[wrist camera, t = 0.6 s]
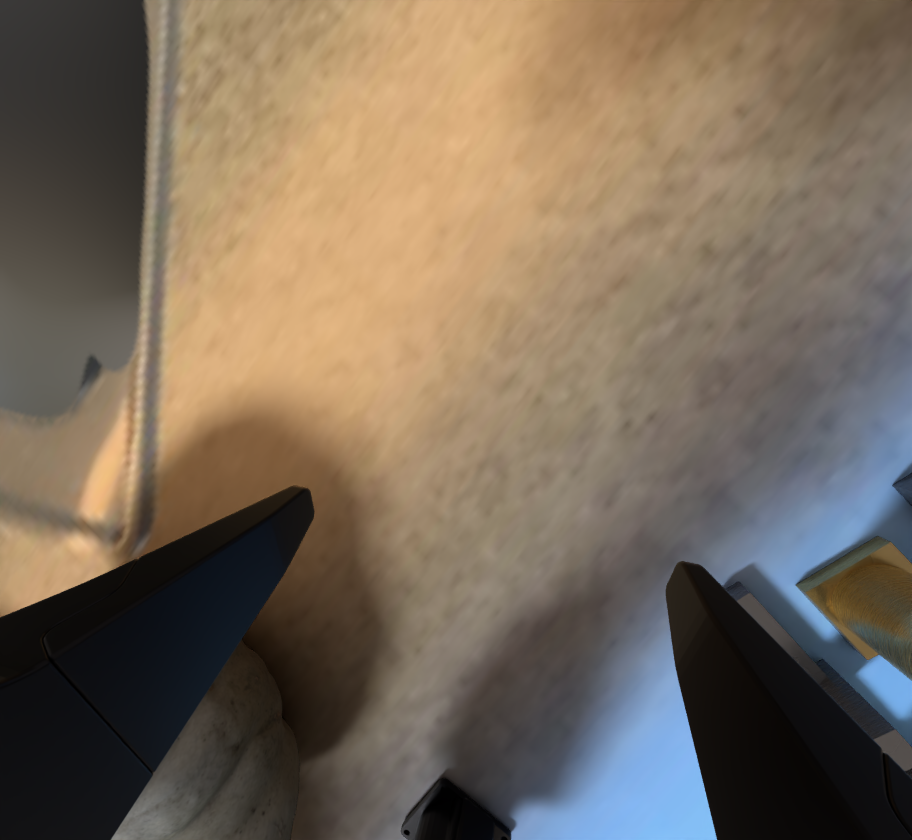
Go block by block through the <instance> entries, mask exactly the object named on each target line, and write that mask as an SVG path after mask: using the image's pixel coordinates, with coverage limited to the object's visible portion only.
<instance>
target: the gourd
mask: <svg viewBox="0 0 912 840" xmlns="http://www.w3.org/2000/svg"><path fill="white" fill-rule="evenodd" d="M299 772H300V760H299V753H298V748H297V743H296V739H295V736H294V734H293V732H292V730H291V728H290V727H289V725H288V724H287V723H286V722H285V720H284V719H283V718H282V701H281V696H280V692H279V689H278V687H277V684H276V681H275V679H274V678H273V676H272V675H271V674H270V673H269V672H268V669H267V667H266V664H265V662H264V661H263V660H262V659H261V658H260V657H259V655H258V654H257V653H255V652H254V651H252V650H251V649H249V648H248V647H247V646H246V645H245V644H244V642H243V640H242V639H241V641H240V643H239V644H238V646H237V647H236V649H235V650H234V652H233V653H232V655H231V656H230V658H229V659H228V661H227V662H226V664H225V665H224V667H223V669H222V670H221V672H220V673H219V675H218V676H217V678H216V679H215V681H214V682H213V684H212V685H211V687H210V688H209V690H208V691H207V693H206V695H205V696H204V698H203V699H202V701H201V702H200V704H199V705H198V707H197V708H196V710H195V711H194V713H193V714H192V716H191V717H190V719H189V721H188V722H187V724H186V725H185V727H184V728H183V730H182V731H181V733H180V734H179V736H178V737H177V739H176V740H175V742H174V743H173V745H172V747H171V748H170V750H169V751H168V753H167V754H166V756H165V757H164V759H163V760H162V762H161V763H160V765H159V766H158V768H157V769H156V771H155V772H153V776H152V778H151V779H150V781H149V782H148V784H147V785H146V787H145V788H144V790H143V791H142V793H141V794H140V796H139V797H138V799H137V801H136V802H135V804H134V805H133V807H132V808H131V810H130V811H129V813H128V814H127V816H126V817H125V819H124V820H123V822H122V823H121V825H120V827H119V828H118V830H117V831H116V833H115V834H114V836H113V837H112V839H111V840H290V838H291V832H292V825H293V820H294V816H295V811H296V806H297V798H298V790H299Z"/></svg>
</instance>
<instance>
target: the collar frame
mask: <svg viewBox="0 0 912 840" xmlns="http://www.w3.org/2000/svg"><path fill="white" fill-rule="evenodd" d="M893 487H894V488H895V489H896V490H897V491H898V492H899V493H900V494H901V495H902V496H903V497H904V498H905V499H906V500H907V501H908V502H909V503H910V504H911V505H912V473H911V474H910V475H908V476H907V477H905V478H903V479H902V480H900V481H899V482H897V483H895V484H894V485H893ZM726 591H727V592H728V593H729V594H730V595H731V596H732V597H733V598H734V599H735V600H736V601H737V602H738V603H739V604H740V605H741V606H742V607H743V608H744V609H745V610H746V611H747V612H748V613H749V614H750V615H751V616H752V617H753V618H754V619H755V620H756V621H757V622H758V623H759V624H760V625H761V626H762V627H763V628H764V629H765V630H766V631H767V632H768V633H769V634H770V635H771V636H772V637H773V638H774V639H775V640H776V641H777V642H778V643H779V644H780V645H781V646H782V647H783V648H784V649H785V650H786V652H787V653H788V654H789V655H790V656H791V657H792V658H793V659H794V660H795V661H796V662H797V663H798V664H799V665H800V666H801V667H802V668H803V669H804V670H805V671H806V672H807V673H808V674H809V675H810V676H811V677H812V678H813V679H814V680H815V681H816V682H817V683H818V684H819V685H820V686H821V687H822V688H823V689H824V690H825V691H826V692H827V693H828V694H829V695H830V696H831V697H832V698H833V699H834V700H835V701H836V702H837V703H838V704H839V705H840V706H841V707H842V708H843V709H844V710H845V711H846V712H847V713H848V714H849V715H850V716H851V717H852V718H853V719H854V720H855V721H856V722H857V723H858V724H859V725H860V726H861V728H862V729H863V730H864V731H865V732H866V733H867V734H868V735H869V736H870V737H871V738H872V739H873V740H874V741H875V742H876V743H877V744H878V745H879V746H880V747H881V748H882V751H883V753H886V754H888V755H889V756H890V757H891V758H892V759H893V760H894V761H895V762H896V763H897V764H898V765H899V766H900V767H901V768H902V769H903V770H904V771H905V772H906V773H907V774H908V775H909V776H910V777H911V778H912V747H911V746H910V745H909V744H908V743H907V741H906V740H905V739H904V738H903V737H902V736H901V735H900V734H899V733H898V732H897V731H896V730H895V729H894V728H893V727H892V726H891V725H890V724H889V723H888V722H887V721H886V720H885V719H884V718H883V717H882V716H881V715H880V714H879V713H878V712H877V711H876V710H875V709H874V708H873V707H872V706H871V705H870V704H869V703H868V702H867V701H866V700H865V699H864V698H863V697H862V696H861V695H860V694H859V693H857V692H856V691H855V690H854V689H853V688H852V687H851V686H850V685H849V684H848V683H847V682H846V681H845V680H844V679H843V678H842V677H841V676H840V675H839V674H838V673H837V672H836V671H835V670H834V669H833V668H832V667H831V666H830V665H829V664H828V663H827V662H826V661H825V660H824V659H822V660H820V661H819V662H817V663H814V662H813V660H812V659H811V658H810V657H809V656H808V655H807V654H806V653H805V652H804V651H803V650H802V648H801V647H800V646H799V645H798V644H797V643H796V642H795V641H794V640H793V639H792V638H791V637H790V635H789V634H788V633H787V632H786V631H785V630H784V629H783V628H782V627H781V626H780V625H779V623H778V622H777V621H776V620H775V619H774V618H773V617H772V616H771V615H770V614H769V613H768V611H767V610H766V609H765V608H764V607H763V606H762V605H761V604H760V603H759V602H758V601H757V600H756V598H755V597H754V596H753V595H752V594H751V593H750V592H749V591H748V590H747V589H746V588H745V587H744V586H743V585H742V584H741V583H740V582H739V581H738V582H737V583H735V584H734V585H732V586H730V587H729V588H727V589H726Z"/></svg>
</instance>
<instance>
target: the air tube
mask: <svg viewBox="0 0 912 840" xmlns="http://www.w3.org/2000/svg"><path fill="white" fill-rule="evenodd" d="M796 586H797V587H798V588H799V590H800V591H801V592H802V593H803V594H804V595H805V596H806V597H807V598H808V599H809V600H810V601H811V602H812V604H813V605H814V606H815V607H816V608H817V609H818V610H819V611H820V612H821V613H822V614H823V615H824V616H825V618H826V619H827V620H828V621H829V622H830V623H831V624H832V625H833V626H834V627H835V628H836V629H837V630H838V632H839V633H840V634H841V635H842V636H843V637H844V638H845V639H846V640H847V641H848V642H849V643H850V644H851V646H852V647H853V648H854V649H855V650H856V651H857V652H859V653H860V654H861V655H862V656H863V657H864V658H866V659H867V660H869V659H871V658H873V657H875V656H877V655H880V656H882V657H883V658H884V659H885V660H887V661H888V662H889V663H890V664H892V665H893V666H894V667H895V668H897V669H898V670H899V671H900V672H902V673H903V674H904V675H905V676H907V677H908V678H909V679H910V680H911V681H912V564H911V563H910V562H909V560H908V559H907V558H906V557H905V556H904V555H903V554H902V553H901V552H900V551H899V550H898V549H897V548H896V547H895V546H894V545H893V544H892V543H891V542H890V541H887V540H885V539H883V538H881V537H879V536H877V537H875V538H873V539H872V540H870V541H868V542H867V543H865V544H863V545H862V546H860V547H858V548H857V549H855V550H853V551H852V552H850V553H848V554H847V555H845V556H843V557H842V558H840V559H838V560H837V561H835V562H833V563H832V564H830V565H828V566H827V567H825V568H823V569H822V570H820V571H818V572H816V573H815V574H813V575H811V576H810V577H808V578H806V579H805V580H803V581H801V582H800V583H798V584H796Z"/></svg>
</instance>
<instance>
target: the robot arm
mask: <svg viewBox="0 0 912 840" xmlns="http://www.w3.org/2000/svg"><path fill="white" fill-rule="evenodd" d="M313 518H314V507H313V502H312V497H311V492H310V490H309V489H308V488H305V487H300V486H291V487H289V488H287V489H285V490H283V491H281V492H278V493H276V494H274V495H272V496H270V497H268V498H266V499H263V500H261V501H259V502H257V503H255V504H253V505H251V506H249V507H246V508H244V509H242V510H240V511H238V512H236V513H234V514H231V515H229V516H227V517H225V518H223V519H221V520H219V521H216V522H214V523H212V524H210V525H208V526H206V527H204V528H201V529H199V530H197V531H195V532H193V533H191V534H189V535H186V536H184V537H182V538H180V539H178V540H176V541H174V542H171V543H169V544H167V545H165V546H163V547H161V548H159V549H157V550H154V551H152V552H150V553H148V554H146V555H144V556H142V557H140V558H139V559H135V560H133V561H131V562H129V563H126V564H124V565H122V566H120V567H118V568H116V569H114V570H111V571H109V572H107V573H105V574H103V575H100V576H98V577H96V578H94V579H91V580H89V581H87V582H85V583H82V584H80V585H78V586H75V587H73V588H71V589H68V590H66V591H63V592H61V593H59V594H56V595H54V596H52V597H49V598H47V599H44V600H42V601H39V602H37V603H35V604H32V605H30V606H27V607H25V608H22V609H20V610H17V611H15V612H13V613H10V614H8V615H5V616H3V617H0V840H111V839H112V837H113V836H114V834H115V833H116V831H117V830H118V828H119V827H120V825H121V823H122V822H123V820H124V819H125V817H126V816H127V814H128V813H129V811H130V810H131V808H132V807H133V805H134V804H135V802H136V801H137V799H138V797H139V796H140V794H141V793H142V791H143V790H144V788H145V787H146V785H147V784H148V782H149V781H150V779H151V778H152V776H153V772H155V771H156V769H157V768H158V766H159V765H160V763H161V762H162V760H163V759H164V757H165V756H166V754H167V753H168V751H169V750H170V748H171V747H172V745H173V743H174V742H175V740H176V739H177V737H178V736H179V734H180V733H181V731H182V730H183V728H184V727H185V725H186V724H187V722H188V721H189V719H190V717H191V716H192V714H193V713H194V711H195V710H196V708H197V707H198V705H199V704H200V702H201V701H202V699H203V698H204V696H205V695H206V693H207V691H208V690H209V688H210V687H211V685H212V684H213V682H214V681H215V679H216V678H217V676H218V675H219V673H220V672H221V670H222V669H223V667H224V665H225V664H226V662H227V661H228V659H229V658H230V656H231V655H232V653H233V652H234V650H235V649H236V647H237V646H238V644H239V643H240V641H241V639H242V638H243V636H244V635H245V633H246V632H247V630H248V629H249V627H250V626H251V624H252V623H253V621H254V620H255V618H256V617H257V615H258V613H259V612H260V610H261V609H262V607H263V606H264V604H265V603H266V601H267V600H268V598H269V597H270V595H271V594H272V592H273V591H274V589H275V587H276V586H277V584H278V583H279V581H280V580H281V578H282V577H283V575H284V573H285V572H286V570H287V568H288V566H289V565H290V563H291V561H292V559H293V557H294V555H295V553H296V551H297V549H298V547H299V546H300V544H301V542H302V540H303V538H304V536H305V534H306V532H307V530H308V528H309V526H310V524H311V522H312V520H313ZM666 601H667V608H668V616H669V623H670V631H671V639H672V646H673V654H674V660H675V667H676V671H677V676H678V681H679V685H680V689H681V693H682V697H683V701H684V705H685V709H686V713H687V718H688V722H689V726H690V730H691V734H692V738H693V742H694V746H695V750H696V755H697V759H698V763H699V767H700V771H701V775H702V779H703V783H704V787H705V792H706V796H707V800H708V804H709V808H710V812H711V816H712V820H713V824H714V828H715V833H716V837H717V840H912V778H911V777H910V776H909V775H908V774H907V773H906V772H905V771H904V770H903V769H902V768H901V767H900V766H899V765H898V764H897V763H896V762H895V761H894V760H893V759H892V758H891V757H890V756H889V755H888V754H886V753H883V751H882V748H881V747H880V746H879V745H878V744H877V743H876V742H875V741H874V740H873V739H872V738H871V737H870V736H869V735H868V734H867V733H866V732H865V731H864V730H863V729H862V728H861V726H860V725H859V724H858V723H857V722H856V721H855V720H854V719H853V718H852V717H851V716H850V715H849V714H848V713H847V712H846V711H845V710H844V709H843V708H842V707H841V706H840V705H839V704H838V703H837V702H836V701H835V700H834V699H833V698H832V697H831V696H830V695H829V694H828V693H827V692H826V691H825V690H824V689H823V688H822V687H821V686H820V685H819V684H818V683H817V682H816V681H815V680H814V679H813V678H812V677H811V676H810V675H809V674H808V673H807V672H806V671H805V670H804V669H803V668H802V667H801V666H800V665H799V664H798V663H797V662H796V661H795V660H794V659H793V658H792V657H791V656H790V655H789V654H788V653H787V652H786V650H785V649H784V648H783V647H782V646H781V645H780V644H779V643H778V642H777V641H776V640H775V639H774V638H773V637H772V636H771V635H770V634H769V633H768V632H767V631H766V630H765V629H764V628H763V627H762V626H761V625H760V624H759V623H758V622H757V621H756V620H755V619H754V618H753V617H752V616H751V615H750V614H749V613H748V612H747V611H746V610H745V609H744V608H743V607H742V606H741V605H740V604H739V603H738V602H737V601H736V600H735V599H734V598H733V597H732V596H731V595H730V594H729V593H728V592H727V591H726V590H725V589H724V588H723V587H722V586H721V585H720V584H719V583H718V582H717V581H716V580H715V579H714V578H713V577H712V575H711V574H710V573H709V572H708V571H707V570H706V569H705V568H703V567H702V566H701V565H699V564H694V563H689V562H684V561H680V562H679V563H677V565H676V567H675V569H674V571H673V573H672V575H671V577H670V579H669V581H668V583H667V586H666ZM401 833H402V835H403V836H404V837H405V838H406V839H408V840H511V831H510V830H509V829H508V828H507V827H505V826H504V825H503V824H502V823H500V822H499V821H498V820H497V819H495V818H494V817H493V816H492V815H491V814H489V813H488V812H487V811H486V810H484V809H483V808H482V807H481V806H479V805H478V804H477V803H476V802H474V801H473V800H472V799H471V798H469V797H468V796H467V795H466V794H465V793H463V792H462V791H461V790H460V789H458V788H457V787H456V786H455V785H453V784H452V783H451V782H450V781H448V780H447V779H441V780H439V781H438V783H437V784H436V785H435V786H434V787H433V788H432V790H431V791H430V792H429V793H428V794H427V795H426V797H425V798H424V799H423V800H422V801H421V802H420V804H419V805H418V806H417V807H416V808H415V809H414V811H413V812H412V813H411V814H410V815H409V816H408V818H407V819H406V820H405V821H404V822H403V824H402V828H401Z"/></svg>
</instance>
